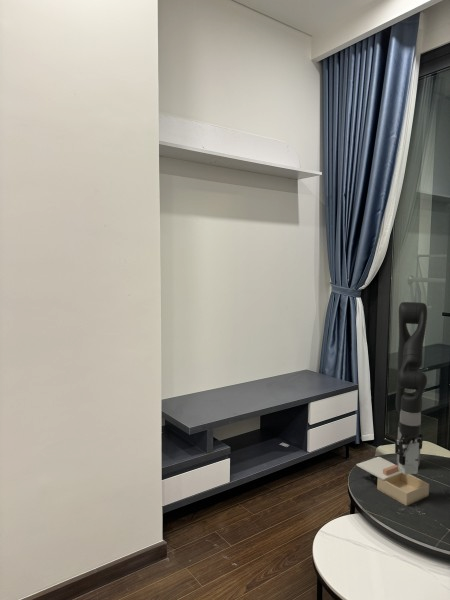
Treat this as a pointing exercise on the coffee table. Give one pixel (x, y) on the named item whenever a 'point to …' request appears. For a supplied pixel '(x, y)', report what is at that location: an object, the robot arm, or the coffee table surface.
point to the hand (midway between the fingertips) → (408, 462)
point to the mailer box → (404, 488)
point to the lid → (380, 468)
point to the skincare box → (410, 460)
